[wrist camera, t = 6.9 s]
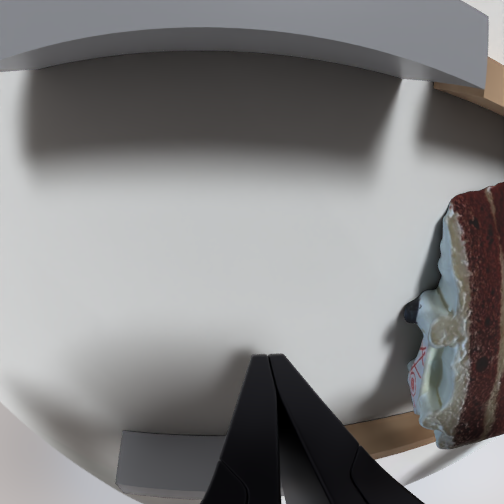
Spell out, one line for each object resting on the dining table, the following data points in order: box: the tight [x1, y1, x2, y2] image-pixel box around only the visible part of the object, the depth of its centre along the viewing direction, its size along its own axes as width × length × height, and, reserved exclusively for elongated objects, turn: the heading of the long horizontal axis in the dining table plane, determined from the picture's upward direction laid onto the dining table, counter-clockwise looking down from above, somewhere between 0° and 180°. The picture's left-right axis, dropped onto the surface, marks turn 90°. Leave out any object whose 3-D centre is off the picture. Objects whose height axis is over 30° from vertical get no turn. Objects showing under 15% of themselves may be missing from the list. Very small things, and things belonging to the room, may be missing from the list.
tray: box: [345, 57, 504, 460], centre depth 10 cm, size 11×17×2 cm, turn 176°
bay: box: [0, 0, 489, 499], centre depth 8 cm, size 9×18×3 cm, turn 176°
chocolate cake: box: [404, 182, 504, 449], centre depth 10 cm, size 10×7×12 cm
